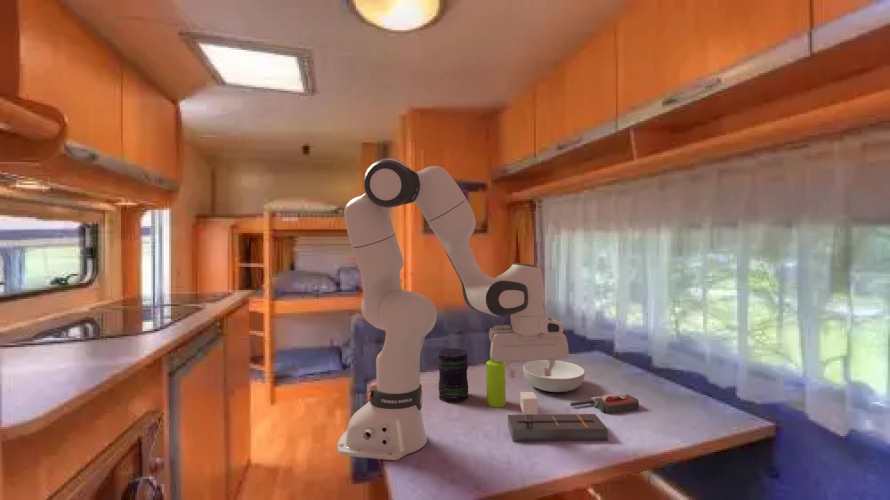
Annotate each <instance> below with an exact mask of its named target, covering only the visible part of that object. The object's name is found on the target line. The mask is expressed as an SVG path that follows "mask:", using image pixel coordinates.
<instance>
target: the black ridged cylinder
mask: <svg viewBox="0 0 890 500" xmlns="http://www.w3.org/2000/svg"><path fill="white" fill-rule="evenodd" d="M437 359H438V360H437V364H438V370H439V371H438V372H439V374H438V375H439V380H438V394H439V395H438V399H439V400H440V401H441V402H444V403H448V404H457V403H458V404H459V403H462V402H463V403H464V402H466V401H467V400H468V398H469V395H468V393H469V381H468V367H469V366H468V365H469V360H468V351H467V350H466V349H462V348H445V349H442V350H439V351H438V358H437Z"/></svg>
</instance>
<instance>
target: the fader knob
mask: <svg viewBox="0 0 890 500" xmlns="http://www.w3.org/2000/svg"><path fill="white" fill-rule="evenodd" d="M519 396H520V397H519V401H520V403H519V404H520V409H521V412H522V415H525V420H526V422H533V415H539V414H538V411H539V410H538V398H537V397H538V396H536V394H535V393H534V391H520V392H519Z"/></svg>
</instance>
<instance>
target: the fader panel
mask: <svg viewBox="0 0 890 500" xmlns="http://www.w3.org/2000/svg"><path fill="white" fill-rule="evenodd" d="M532 415H533V422H526V420H525V414H507V426H508V430H509V433H510V437H511V440H512V442H584V441H585V442H589V441H597V442H599V441H609V439H608V438H609V436H608V435H609V434H608V432H609V429H608V427H606V425H605V424H604V423H603V422H602V420H601V419H600V418H599V417H598V416H597V415H596V413H564V414H563V413H562V414H561V413H556V414H553V413H552V414H550V413H549V414H546V413H545V414H543V413H542V414H532Z"/></svg>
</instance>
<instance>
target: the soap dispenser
mask: <svg viewBox="0 0 890 500" xmlns="http://www.w3.org/2000/svg"><path fill="white" fill-rule="evenodd" d="M485 365H486V366H485V367H486V374H485V375H486V405H487V406H489V407H491V408H503V407H505V406H506V405H507V404H506V403H507V401H506V400H507V398H506V396H507V395H506V366H505V364H504V361H494V360H493V359H492V358H491V350H490V351H489V360H488V361H486V364H485Z"/></svg>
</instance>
